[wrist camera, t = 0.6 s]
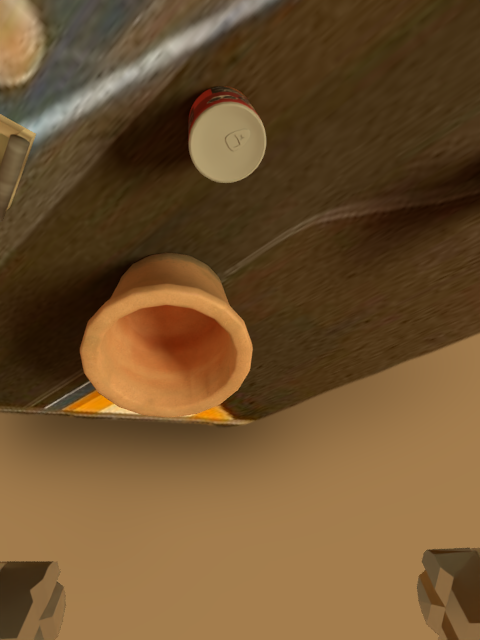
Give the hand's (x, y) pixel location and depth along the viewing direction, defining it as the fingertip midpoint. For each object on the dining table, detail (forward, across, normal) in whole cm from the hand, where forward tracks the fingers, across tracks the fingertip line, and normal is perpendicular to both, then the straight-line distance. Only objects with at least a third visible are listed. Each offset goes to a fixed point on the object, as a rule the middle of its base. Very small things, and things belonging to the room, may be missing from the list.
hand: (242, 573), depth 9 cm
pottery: (+56, +9, +12) cm, 58 cm away
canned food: (+50, +1, -12) cm, 51 cm away
